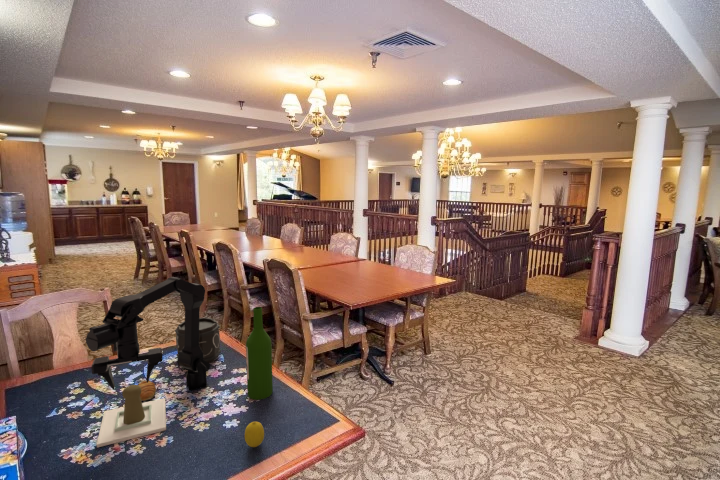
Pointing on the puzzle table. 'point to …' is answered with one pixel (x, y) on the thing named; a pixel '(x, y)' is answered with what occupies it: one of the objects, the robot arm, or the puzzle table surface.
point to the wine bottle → (259, 360)
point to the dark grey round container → (202, 338)
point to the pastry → (147, 390)
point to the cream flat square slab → (118, 431)
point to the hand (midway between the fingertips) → (130, 385)
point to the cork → (133, 405)
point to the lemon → (254, 434)
